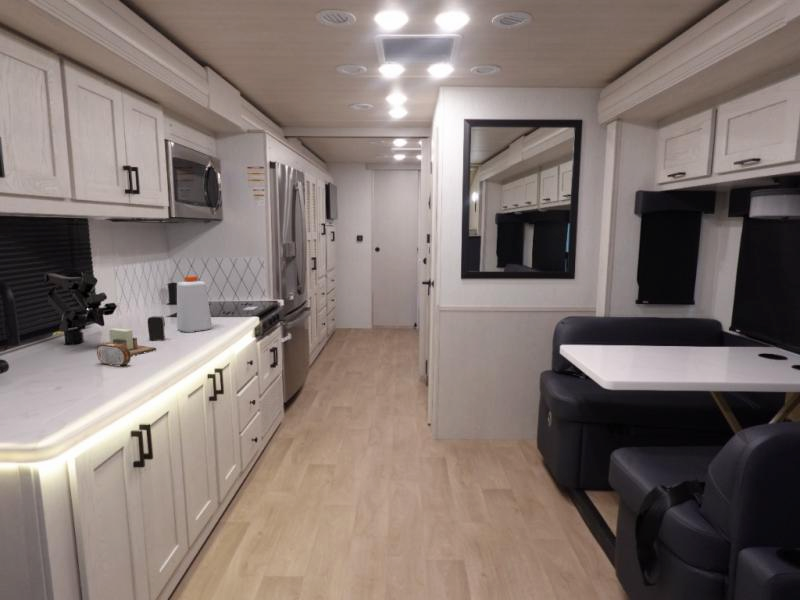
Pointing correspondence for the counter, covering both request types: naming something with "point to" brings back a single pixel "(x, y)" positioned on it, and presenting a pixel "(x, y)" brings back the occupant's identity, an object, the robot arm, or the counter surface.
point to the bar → (122, 336)
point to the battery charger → (156, 328)
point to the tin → (113, 354)
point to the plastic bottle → (192, 306)
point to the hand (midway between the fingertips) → (103, 325)
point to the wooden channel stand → (137, 348)
